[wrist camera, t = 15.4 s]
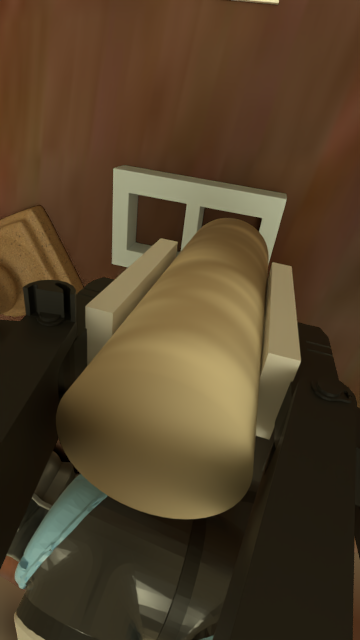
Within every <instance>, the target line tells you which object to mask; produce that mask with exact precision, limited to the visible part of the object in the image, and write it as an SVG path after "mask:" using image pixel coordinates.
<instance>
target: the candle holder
mask: <svg viewBox="0 0 360 640" xmlns="http://www.w3.org/2000/svg"><path fill="white" fill-rule="evenodd" d="M40 280H59V281H63V282H67V283H69V284H71V285H73V286H74V288H75V289H76V294H77V293H78V292H79V291H80V290H81V289H84V287H83V284H82V282H81V280H80V278H79V276H78V274H77V272H76V270H75V268H74V266H73V264H72V262H71V260H70V258H69V256H68V254H67V252H66V250H65V248H64V246H63V244H62V242H61V240H60V238H59V236H58V234H57V232H56V230H55V228H54V226H53V224H52V222H51V220H50V219H49V217H48V215H47V213H46V211H45V210H44V208H43V207H42V206H41V205H38V206H35V207H32V208H29V209H26V210H23V211H21V212H18V213H16V214H13V215H11V216H8V217H6V218H3V219H1V220H0V314H4V315H5V316H12V317H17V316H23V315H26V312H25V303H24V294H23V287H24V286H25V285H27V284H29V283H32V282H35V281H40Z"/></svg>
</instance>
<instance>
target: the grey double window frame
mask: <svg viewBox="0 0 360 640" xmlns="http://www.w3.org/2000/svg"><path fill="white" fill-rule="evenodd" d="M138 195H143V196H149V197H154V198H159V199H164V200H170V201H175V202H180V203H186V204H187V207H186V214H185V222H184V230H183V237H182V245H181V251H182V250H183V248H184V247H185V246H186V245H187V243H188V242H189V241H190V240H191V239H192V237H193V236H194V235H195V234H196V232H197V231H198V230H199V229H200V228H201V227H202V221H203V215H204V208H205V207H207V208H212V209H217V210H222V211H228V212H233V213H238V214H243V215H249V216H254V217H259V218H262V221H261V225H260V229H259V233H260V234H261V235H262V237H263V238H264V240H265V242H266V245H267V248H268V254H269V261H270V257H271V253H272V250H273V246H274V243H275V239H276V236H277V232H278V229H279V225H280V221H281V218H282V214H283V211H284V207H285V204H286V200H287V195H286V194H285V193H279V192H274V191H268V190H262V189H257V188H251V187H245V186H240V185H234V184H228V183H223V182H217V181H211V180H206V179H200V178H194V177H189V176H183V175H178V174H172V173H166V172H161V171H155V170H149V169H144V168H138V167H132V166H127V165H123V166H120V167H116V168H113V230H112V264H115V265H119V266H124V267H129V266H131V265H132V264H133V263H134V262H135V261H136V260H137V259H138V258H139V257H141V256H142V255H143V254H144V253H145V252H146V251H147V250H148V249H149V248H151V247H152V246H150V245H146V244H141V243H136V228H137V209H138ZM179 253H180V252H178V251H177V253H176V257H177V256H178V254H179ZM269 261H268V264H269Z"/></svg>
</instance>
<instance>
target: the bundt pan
mask: <svg viewBox="0 0 360 640" xmlns="http://www.w3.org/2000/svg"><path fill="white" fill-rule="evenodd" d="M78 475H79V474H77V473H74V469H73V464H72V463H70V462H61V460H60V458H59V456H58V455H57V454H56V453H55V452H54V451H53V452H52V454H51V456H50V458H49V461H48V463H47V465H46V467H45V470H44V472H43V474H42V476H41V479H40V481H39V483H38V485H37V488H36V490H35V492H34V494H33V497H32V499H31V501H30V503H29V506H28V508H27V510H26V512H25V515H24V517H23V519H22V521H21V524H20V526H19V528H18V530H17V533H16V535H15V537H14V539H13V542H12V544H11V546H10V548H9V551H8V553H7V556H10V557H12V558H14V559H15V560H17V561H18V562H20V561H21V559H22V557H23V555H24V552H25V549H26V547H27V545H28V543H29V542H30V540H31V538H32V537H33V535H34V533H35V532H36V530H37V528H38V527H39V525H40V523H41V522H42V520H43V519H44V517H45V516H46V514H47V513H48V511H49V510H50V509H51V507H52V506H53V504H54V503H55V502H56V500H57V499H58V498H59V496H60V495H61V494H62V493H63V491H64V490H65V489H66V488H67V486H68V485H69V484H70V483H71V482H72V481H73V480H74V479H75V478H76V477H77V476H78Z"/></svg>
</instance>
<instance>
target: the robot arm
mask: <svg viewBox="0 0 360 640" xmlns="http://www.w3.org/2000/svg"><path fill="white" fill-rule="evenodd" d="M177 246H178V242H176V241H171V240H167V239H162V238H160V239H159V240H158V241H157V242H156V243H155V244H154V245H153V246H152V247H151V248H149V249H148V250H147V251H146V252H145V253H144V254H143V255H142V256H141V257H139V258H138V259H137V260H136V261H135V262H134V263H133V264H132V265H131V266H129V267H128V268H127V269H126V270H125V271H124V272H123V273H122V274H121V275H119V276H118V277H117V278H116V279H115V280H113V279H109V278H105V277H103V278H100V279H97V280H94V281H92V282H90V283H89V284H88V285H86V286H85V287H84V289H81V290H80V291H79V292H78V293H77V294H76V289H75V288H74V286H73V285H71V284H69V283H67V282H63V281H59V280H40V281H35V282H32V283H29V284H27V285H25V286H24V287H23V294H24V303H25V312H26V316H25V317H24V318H23V319H22V320H21V321H9V320H0V569H1V566H2V564H3V562H4V560H5V557H6V555H7V553H8V551H9V548H10V546H11V544H12V542H13V539H14V537H15V535H16V533H17V530H18V528H19V526H20V524H21V521H22V519H23V517H24V515H25V512H26V510H27V508H28V506H29V503H30V501H31V499H32V497H33V494H34V492H35V490H36V488H37V485H38V483H39V481H40V479H41V476H42V474H43V472H44V470H45V467H46V465H47V463H48V461H49V458H50V456H51V454H52V452H53V449H54V447H55V445H56V443H57V440H58V434H57V429H56V414H57V408H58V406H59V403H60V401H61V399H62V397H63V396H64V394H65V393H66V392H67V390H68V389H69V388H70V387H71V385H72V384H73V383H74V382H75V381H76V379H77V378H78V377H79V376H80V374H81V373H82V372H83V371H84V370H85V368H86V367H87V366H88V365H89V363H90V362H91V361H92V360H93V359H94V357H95V356H96V355H97V354H98V352H99V351H100V350H101V349H102V347H103V346H104V345H105V344H106V343H107V341H108V340H109V339H110V338H111V336H112V335H113V334H114V333H115V332H116V330H117V329H118V328H119V327H120V325H121V324H122V323H123V322H124V321H125V319H126V318H127V317H128V316H129V314H130V313H131V312H132V311H133V310H134V308H135V307H136V306H137V305H138V303H139V302H140V301H141V300H142V299H143V297H144V296H145V295H146V294H147V292H148V291H149V290H150V289H151V287H152V286H153V285H154V284H155V283H156V281H157V280H158V279H159V278H160V276H161V275H162V274H163V273H164V272H165V270H166V269H167V268H168V267H169V265H170V264H171V263H172V262H173V261H174V259H175V258H176V253H177ZM330 347H331V346H330V342H329V338H328V337H327V335H326V334H325V333H324V332H323V331H322V330H321V329H320V328H319V327H315V326H311V325H306V324H302V323H298V322H297V316H296V306H295V296H294V286H293V276H292V266H288V265H283V264H278V263H274V262H272V265H271V269H270V272H269V276H268V279H267V288H266V302H265V315H264V329H263V342H262V356H261V369H260V383H259V397H258V411H257V424H256V438H255V451H254V465H253V477H252V481H251V485H250V487H249V489H248V491H247V493H246V494H245V496H244V497H243V498H242V499H241V500H240V501H239V502H238V503H237V504H236V505H235V506H233V507H232V508H230V509H228V510H227V511H225V512H222V513H220V514H217V515H214V516H210V517H206V518H199V519H173V518H166V517H160V516H156V515H151V514H148V513H145V512H141V511H139V510H136V509H134V508H131V507H129V506H126V505H124V504H122V503H120V502H118V501H116V500H115V499H113V498H111V497H109V496H108V495H106V494H105V493H103V492H102V491H100V490H99V489H98V488H96V487H95V486H94V485H92V484H91V483H90V482H89V481H88V480H87V479H86V478H85V477H83V476H82V474H79V475H78V476H77V477H76V478H75V479H74V480H73V481H72V482H71V483H70V484H69V485H68V486H67V488H66V489H65V490H64V491H63V493H62V494H61V495H60V496H59V498H58V499H57V500H56V502H55V503H54V504H53V506H52V507H51V509H50V510H49V511H48V513H47V514H46V516H45V517H44V519H43V520H42V522H41V523H40V525H39V527H38V528H37V530H36V532H35V533H34V535H33V537H32V538H31V540H30V542H29V543H28V545H27V547H26V549H25V552H24V555H23V557H22V559H21V561H20V562H19V564H18V566H17V569H16V572H15V580H16V582H17V583H18V584H19V587H20V588H22V589H25V588H26V591H25V594H24V596H23V598H22V600H21V602H20V604H19V606H18V608H17V610H16V613H15V615H14V621H15V626H16V631H17V636H18V640H352V638H353V585H354V584H353V583H354V582H353V581H354V580H353V579H354V536H355V540H356V545H357V549H358V553H359V558H360V409H359V408H358V407H357V401H356V398H355V395H354V394H353V393H352V391H351V390H350V389H349V388H348V387H347V386H346V385H344V384H343V383H342V382H340V381H339V379H338V375H337V371H336V367H335V363H334V359H333V357H332V350H331V349H330Z"/></svg>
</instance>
